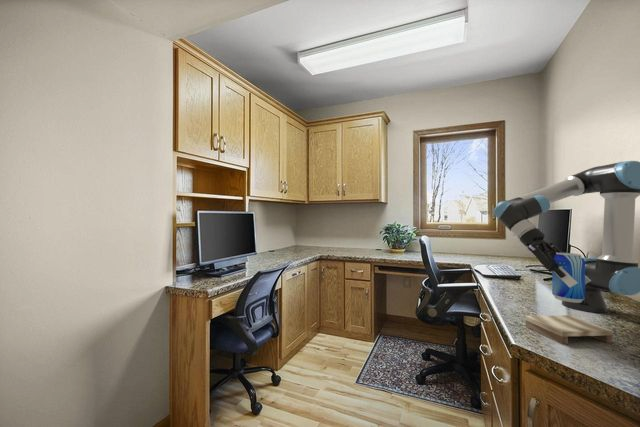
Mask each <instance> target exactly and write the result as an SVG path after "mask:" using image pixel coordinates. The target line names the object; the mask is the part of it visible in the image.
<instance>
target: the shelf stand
mask: <svg viewBox="0 0 640 427" xmlns="http://www.w3.org/2000/svg"><path fill="white" fill-rule="evenodd" d="M525 328H527V329H529V330H531V331H534V332H536V333H537V334H540V335H542V336H544V337H546V338H548V339H551V340H552V341H554V342H556V343H559V344H561V345H569V337H591V338H594V339H596V340H599V341H601V342H603V343H606V344H613V330H611V329H608V328H606V327H603V326H600V325H597V324H595V323H592V322H589V321H587V320H584V319H581V318H578V317H576V316H573V315H564V314H563V315H526V316H525Z"/></svg>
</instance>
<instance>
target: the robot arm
mask: <svg viewBox="0 0 640 427" xmlns="http://www.w3.org/2000/svg"><path fill="white" fill-rule="evenodd" d="M593 193H599V195H600V197H601V198H603V199H604V207H603V208H604V210H603V227H602V228H603V229H602V230H603V231H602V246H601V247H602V249H601V253H602V254H601V255H599V256H598V257H582V258H583V260H584V261H585V299H584V300H583V301H582V302H580V303H574V302H567V301H562V300H561V305H563V306H565V307H567V308H570V309H573V310H576V311H577V310H578V311H583V312H591V313H597V314H598V313H601V314H602V313H608V305H607V304H606V302H605V298H604V296H603V294H602V291H606V292H610V293H613V294H616V295H623V296H635V295H637V294H639V293H640V267H639V261H637V260H636V259H635V258H634V239H635V238H634V237H635V216H636V215H635V214H636V200H637V198H638V197H640V161H638V160H628V161H619V162H614V163H610V164H605V165H604V164H603V165H598V166H597V165H596V166H594V167H591V168H588V169H585V170H582V171H580V172H578V173H575V174H571V175H570V176H567V177H565V179H564V180H563V181H559V182H557V183H553V184H550V185H548V186H546V187H545V186H544V187H543V188H540V189H537V190H534V191H532V192H528V193H526V194H523V195H520V196H517V197H514V198H511V199H509V200H502V201H499V202H498V203H497V204H496V205H495V207H494V209H493V212H492V213H493V215H494V216H495V218H497V220H498V221H499V222H500V223H502V224H503V226H505V227H506V228H507V229H508V230H509V231H510V232H511V233H512V236H514V237H516V239H519V241H520V242H521V243H522V244H523V245H524V246H525V247H526V248H527V249H528V250H529V252H531V253H532V255H534V257H535V258H536V259H537V260H538V261H539V262H540V264H541V265H542V266H543V267H544V268H545V270H547V271H548V272H550V273H552V271H553V272H554V273H555V274H556V275H557V276H558V277H559V278H560V279H561V280H562V281H563V282H564V283H565V284H566V285H568V286H569V287H572V286H574V285H576V284H577V283H578V282H577V281H576V280H574V279H573V278H572V277H571V276H570V275H569V274H568V273H567V272H566V271H565V270H564V269H563V268H562V267H559V266H558V265H557V263H556V262H555V261H554V259H553V258H554V256H555V255H556V253H564V251H562V250H561V249H559V247H557V246H556V244H554V243H553V242H550V243H549V242H547V241H546V240H544V238H545V236H546V235H545V233H543V232H542V231H541V230H540V229H539V228H537V226H536V225H535V224H534V223H533V222H531V221H530V219H531V218H534V217H536V216H539V215H542V214H544V213H546V212H548V211H549V210H550V208H551V204H552V203H555V202H558V201H560V200H564V199H566V198H569V197H573V196H574V197H578V196H582V195H585V194H593ZM558 267H559V268H558Z"/></svg>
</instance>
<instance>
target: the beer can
mask: <svg viewBox="0 0 640 427" xmlns="http://www.w3.org/2000/svg"><path fill="white" fill-rule="evenodd" d="M583 258H584V257H582V254H579V253H573V252H571V253H570V252H563V253H556V255H555V256H554V258H553V259H554V261H555V262H556V263H557V265H558V266H559V267H562V268H563V269H564V270H565V271H566V272H567V273H568V274H569V275H570V276H571V277H572V278H573V279H574V280H576V281H577V282H578V283H577V284H576V285H574V286H572V287H569V286H568V285H566V284H565V283H564V282H563V281H562V280H561V279H560V278H559V277H558V276H557V275H556V274H555V273H554V272H553V271H552V272H551V273H552V276H551V285H552V288H551V293H552V295H553V297H554V298H555V299H557V300H559V301H561V302H562V301H567V302H574V303H580V302H582V301H583V300H584V299H585V261H584V260H583ZM559 267H558V268H559Z"/></svg>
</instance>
